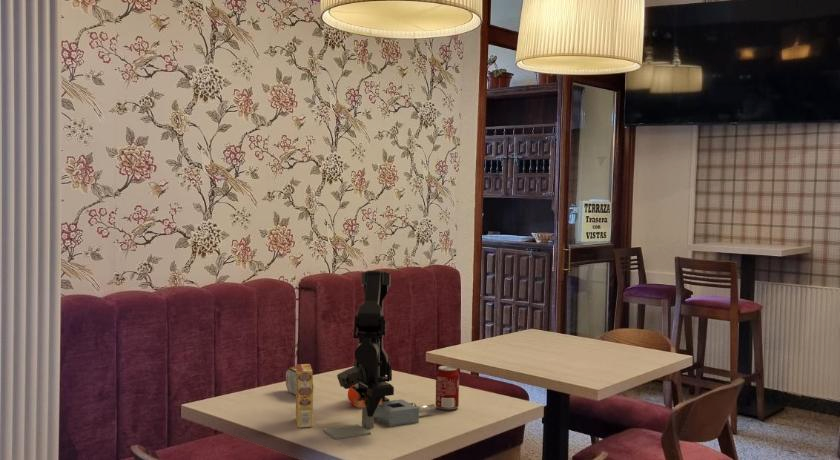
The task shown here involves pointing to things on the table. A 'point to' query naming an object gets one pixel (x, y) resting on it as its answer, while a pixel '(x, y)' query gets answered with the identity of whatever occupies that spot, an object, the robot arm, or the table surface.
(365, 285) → the robot arm
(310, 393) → the candy box
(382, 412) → the block
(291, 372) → the tin
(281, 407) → the table surface
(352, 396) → the clementine
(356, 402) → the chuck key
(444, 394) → the soda can
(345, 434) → the mat
